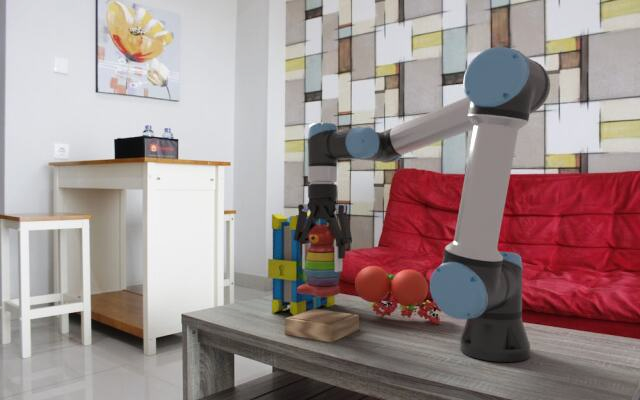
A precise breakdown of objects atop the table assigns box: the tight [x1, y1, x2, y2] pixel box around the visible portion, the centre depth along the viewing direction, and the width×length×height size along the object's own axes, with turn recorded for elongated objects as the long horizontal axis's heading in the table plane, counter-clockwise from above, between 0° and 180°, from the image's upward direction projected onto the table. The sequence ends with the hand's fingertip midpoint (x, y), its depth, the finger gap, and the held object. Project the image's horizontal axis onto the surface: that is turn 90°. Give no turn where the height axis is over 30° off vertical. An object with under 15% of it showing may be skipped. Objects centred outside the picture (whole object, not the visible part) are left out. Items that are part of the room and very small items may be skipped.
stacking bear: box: [297, 224, 342, 297], centre depth 134 cm, size 11×10×18 cm
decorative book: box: [267, 212, 336, 316], centre depth 160 cm, size 14×23×30 cm, turn 145°
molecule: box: [354, 265, 442, 325], centre depth 145 cm, size 25×11×15 cm, turn 73°
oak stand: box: [284, 308, 360, 343], centre depth 133 cm, size 14×14×4 cm
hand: (322, 269), depth 133 cm, fingers closed on stacking bear, 9 cm apart
